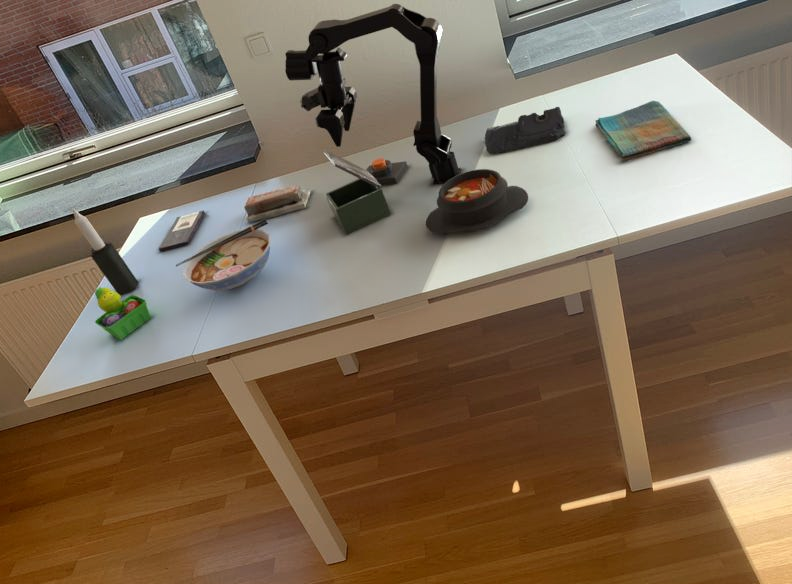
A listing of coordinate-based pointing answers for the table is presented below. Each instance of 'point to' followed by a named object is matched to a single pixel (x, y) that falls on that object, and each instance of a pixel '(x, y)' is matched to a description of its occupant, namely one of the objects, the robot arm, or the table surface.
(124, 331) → the fruit basket
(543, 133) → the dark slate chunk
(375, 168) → the button
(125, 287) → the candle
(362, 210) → the dark green boxy piece
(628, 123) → the dish towel
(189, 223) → the chocolate bar
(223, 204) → the table surface
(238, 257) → the ramen bowl
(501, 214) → the casserole
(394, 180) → the pad
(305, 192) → the packaged product
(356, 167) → the grey flat plate
